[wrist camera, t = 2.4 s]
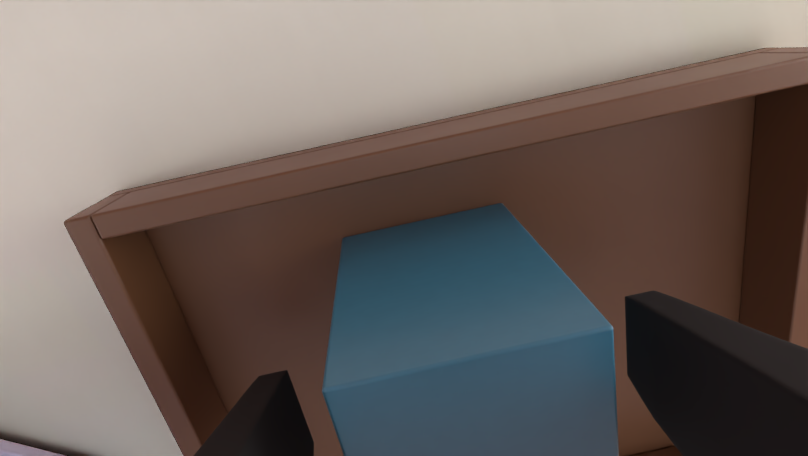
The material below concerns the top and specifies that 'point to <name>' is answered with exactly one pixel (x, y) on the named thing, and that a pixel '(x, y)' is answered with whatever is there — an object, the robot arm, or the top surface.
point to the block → (466, 345)
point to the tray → (460, 191)
